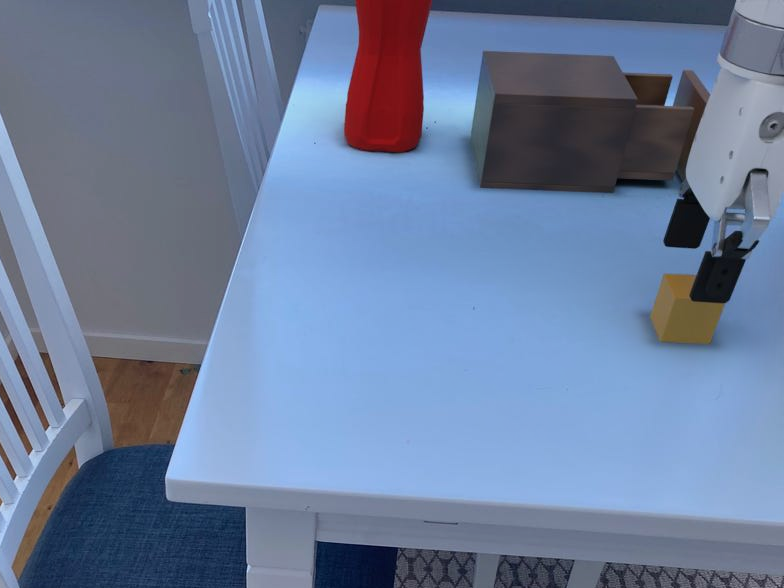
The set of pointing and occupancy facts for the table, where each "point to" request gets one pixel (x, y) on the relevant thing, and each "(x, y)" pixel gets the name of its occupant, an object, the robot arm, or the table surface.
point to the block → (683, 312)
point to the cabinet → (550, 121)
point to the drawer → (662, 126)
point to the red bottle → (387, 76)
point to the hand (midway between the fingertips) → (693, 272)
